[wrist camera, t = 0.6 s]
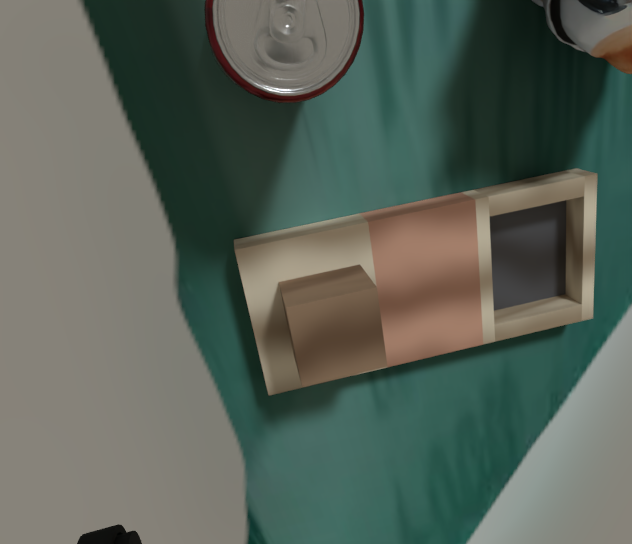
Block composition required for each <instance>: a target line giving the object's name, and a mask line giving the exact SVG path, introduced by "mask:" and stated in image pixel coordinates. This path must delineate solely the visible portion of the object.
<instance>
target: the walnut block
mask: <svg viewBox="0 0 632 544" xmlns="http://www.w3.org/2000/svg"><path fill="white" fill-rule="evenodd" d="M279 287H280V292H281V297H282V302H283V306H284V311H285V316H286V321H287V326H288V331H289V335H290V340H291V345H292V350H293V355H294V358H295V362H296V366H297V370H298V373H299V377H300V381H301V385H302V387H304V386H308V385H313V384H317V383H321V382H325V381H329V380H334V379H338V378H342V377H346V376H350V375H355V374H359V373H363V372H367V371H371V370H375V369H380V368H384V367H388V366H387V359H386V351H385V344H384V336H383V329H382V321H381V314H380V306H379V299H378V291H377V287H376V285H375V284H374V283H373V281H372V280H371V279H370V277H369V276H368V275H367V273H366V272H365V270H364V269H363V268H362V266H361V265H360V264H359V265H355V266H350V267H346V268H341V269H336V270H332V271H327V272H323V273H318V274H313V275H309V276H304V277H300V278H295V279H291V280H286V281H281V282H279Z"/></svg>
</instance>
